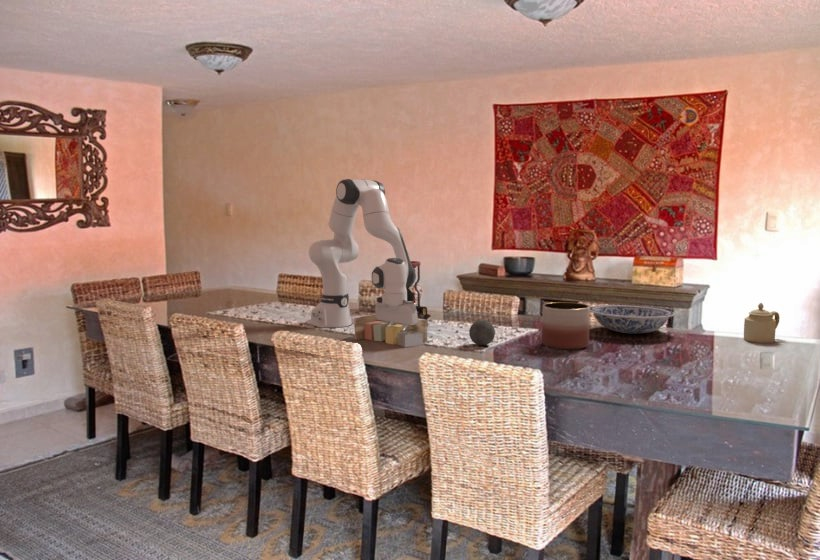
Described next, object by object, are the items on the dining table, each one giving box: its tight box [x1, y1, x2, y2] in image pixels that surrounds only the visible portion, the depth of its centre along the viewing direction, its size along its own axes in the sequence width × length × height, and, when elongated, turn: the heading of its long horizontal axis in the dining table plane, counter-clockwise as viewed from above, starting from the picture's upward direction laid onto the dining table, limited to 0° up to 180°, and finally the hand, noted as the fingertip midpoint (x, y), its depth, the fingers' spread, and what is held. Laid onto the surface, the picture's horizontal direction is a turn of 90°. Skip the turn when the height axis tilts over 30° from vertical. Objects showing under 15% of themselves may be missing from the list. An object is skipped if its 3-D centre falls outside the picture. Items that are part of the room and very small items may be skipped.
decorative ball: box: [468, 319, 496, 346], centre depth 257 cm, size 10×10×10 cm
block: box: [397, 330, 424, 348], centre depth 259 cm, size 6×8×5 cm
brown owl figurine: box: [416, 305, 431, 328], centre depth 287 cm, size 15×11×25 cm
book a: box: [364, 321, 384, 341], centre depth 272 cm, size 4×8×6 cm, turn 138°
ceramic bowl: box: [589, 304, 676, 335], centre depth 278 cm, size 34×34×10 cm
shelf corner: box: [354, 313, 428, 343], centre depth 266 cm, size 26×15×9 cm, turn 48°
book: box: [385, 324, 407, 345], centre depth 264 cm, size 4×8×6 cm, turn 138°
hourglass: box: [406, 260, 422, 306], centre depth 337 cm, size 16×16×25 cm
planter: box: [541, 301, 590, 351], centre depth 255 cm, size 18×18×16 cm
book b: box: [373, 322, 394, 342], centre depth 269 cm, size 4×8×6 cm, turn 138°
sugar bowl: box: [743, 302, 780, 344], centre depth 263 cm, size 15×11×15 cm
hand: (396, 333), depth 264 cm, fingers open, 6 cm apart
